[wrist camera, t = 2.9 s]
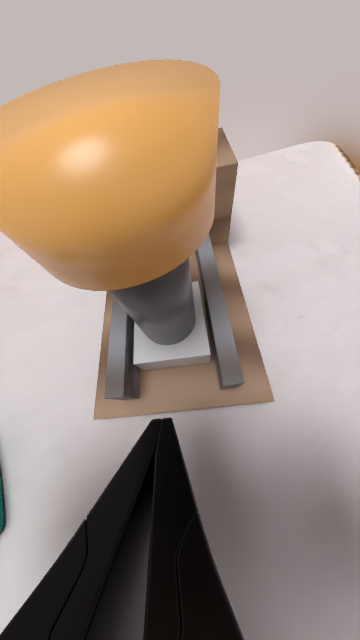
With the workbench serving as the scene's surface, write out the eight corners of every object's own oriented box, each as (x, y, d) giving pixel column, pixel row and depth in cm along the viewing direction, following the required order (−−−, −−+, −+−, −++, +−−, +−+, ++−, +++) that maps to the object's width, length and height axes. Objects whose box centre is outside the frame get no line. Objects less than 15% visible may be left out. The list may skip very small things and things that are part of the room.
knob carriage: (215, 361, 14) (259, 144, 2) (139, 371, 14) (-132, 225, 3) (203, 296, 17) (197, 43, 5) (139, 306, 17) (0, 93, 5)
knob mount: (269, 401, 13) (353, 394, 6) (100, 418, 14) (-18, 432, 7) (216, 215, 23) (222, 120, 15) (117, 233, 24) (75, 152, 16)
